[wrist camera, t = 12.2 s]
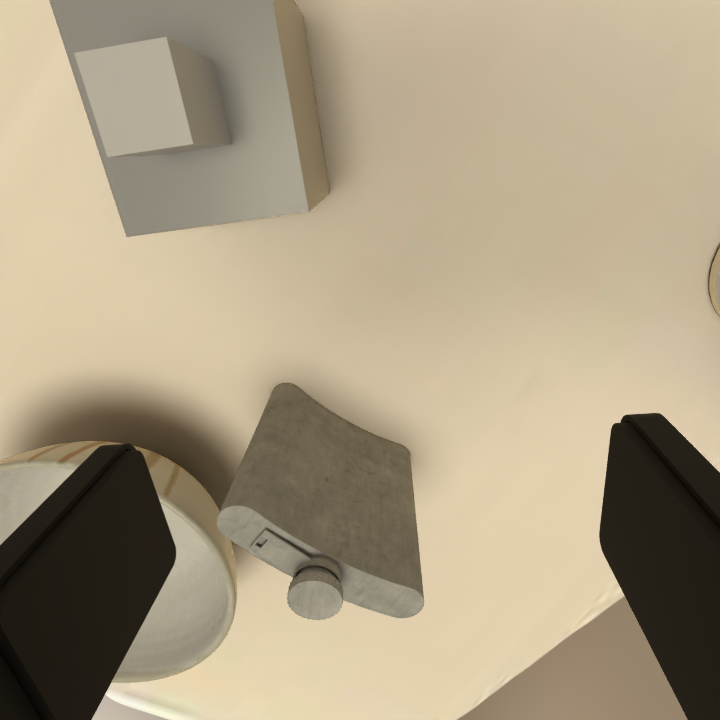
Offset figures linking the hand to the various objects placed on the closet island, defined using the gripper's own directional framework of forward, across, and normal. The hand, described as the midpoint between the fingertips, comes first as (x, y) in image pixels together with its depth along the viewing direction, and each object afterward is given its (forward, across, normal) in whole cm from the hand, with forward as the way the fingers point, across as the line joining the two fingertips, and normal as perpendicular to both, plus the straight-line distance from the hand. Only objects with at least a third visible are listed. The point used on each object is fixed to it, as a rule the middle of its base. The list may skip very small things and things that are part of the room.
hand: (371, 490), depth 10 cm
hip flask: (+34, +7, +19) cm, 40 cm away
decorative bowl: (+33, +30, +26) cm, 52 cm away
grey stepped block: (+33, +10, -10) cm, 36 cm away
